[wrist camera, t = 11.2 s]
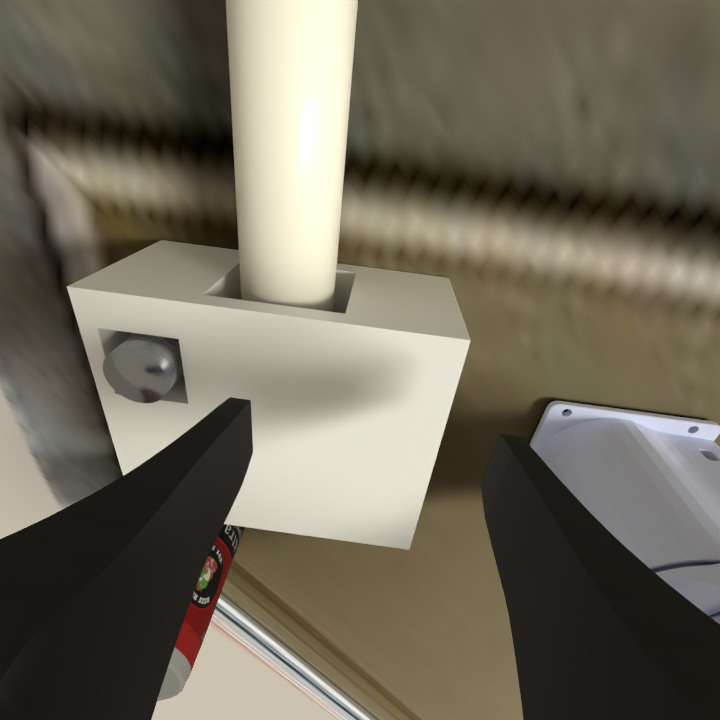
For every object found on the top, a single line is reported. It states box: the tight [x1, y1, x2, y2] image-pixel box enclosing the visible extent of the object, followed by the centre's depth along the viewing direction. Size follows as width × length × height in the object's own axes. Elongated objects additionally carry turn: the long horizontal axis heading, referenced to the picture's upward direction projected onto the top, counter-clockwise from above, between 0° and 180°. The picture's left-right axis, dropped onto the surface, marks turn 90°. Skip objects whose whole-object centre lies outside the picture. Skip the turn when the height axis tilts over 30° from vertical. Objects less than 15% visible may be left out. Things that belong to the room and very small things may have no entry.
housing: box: [67, 240, 471, 550], centre depth 19 cm, size 14×12×6 cm
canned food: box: [157, 524, 245, 701], centre depth 24 cm, size 8×8×11 cm
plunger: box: [103, 333, 184, 403], centre depth 16 cm, size 2×2×4 cm
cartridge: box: [226, 0, 358, 312], centre depth 13 cm, size 5×17×5 cm, turn 174°
